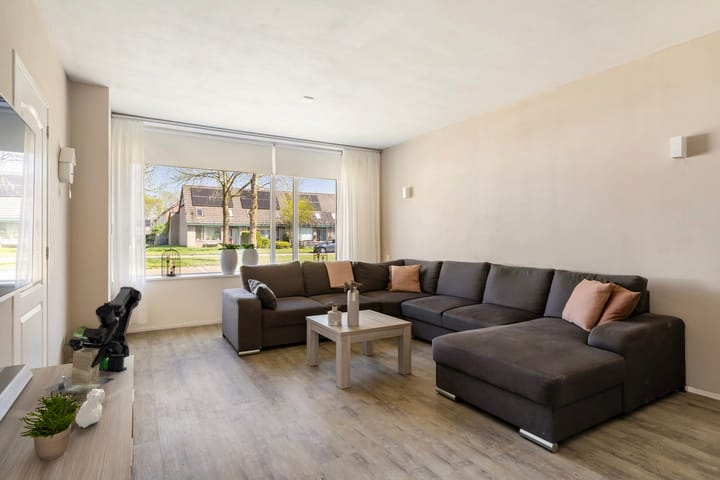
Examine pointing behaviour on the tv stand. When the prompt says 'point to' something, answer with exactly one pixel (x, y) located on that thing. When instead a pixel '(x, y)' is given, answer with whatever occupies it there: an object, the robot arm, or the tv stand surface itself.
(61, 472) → the tv stand surface
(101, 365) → the green block
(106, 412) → the tv stand surface
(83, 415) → the bust
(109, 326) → the robot arm
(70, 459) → the tv stand surface
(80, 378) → the sleeve
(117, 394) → the tv stand surface
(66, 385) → the peg plate
